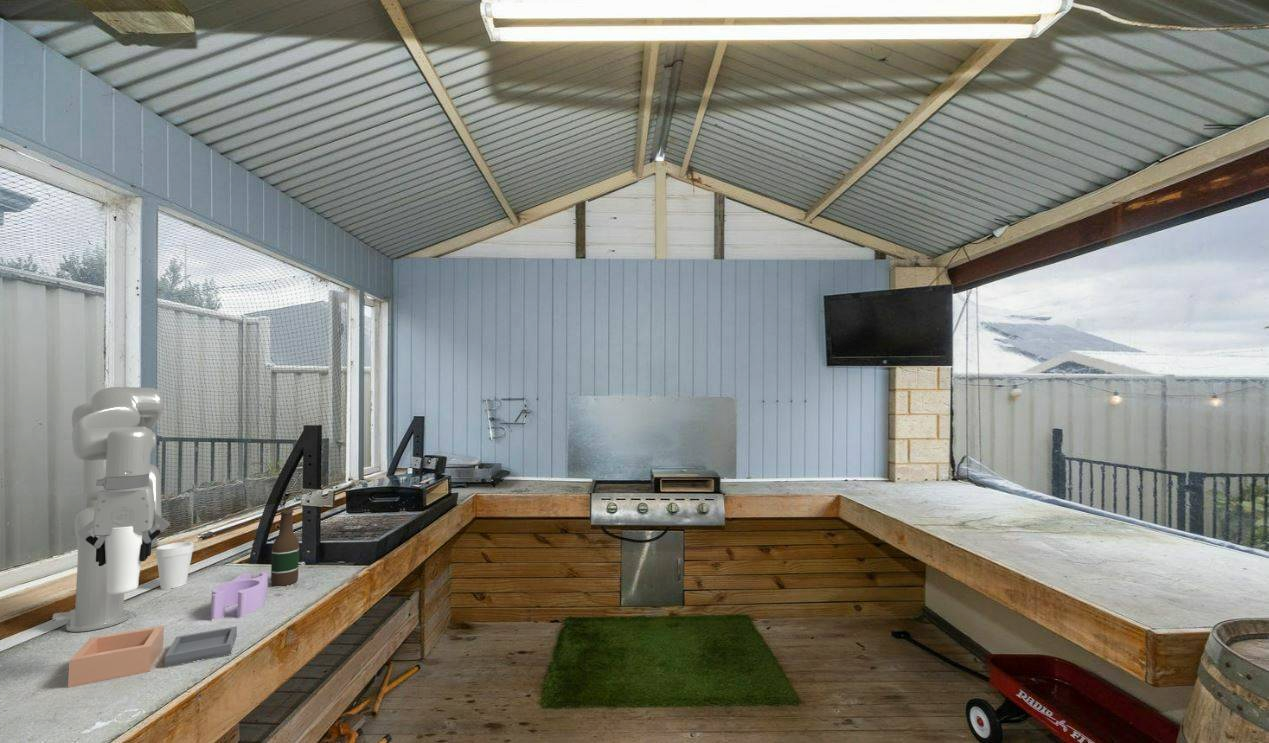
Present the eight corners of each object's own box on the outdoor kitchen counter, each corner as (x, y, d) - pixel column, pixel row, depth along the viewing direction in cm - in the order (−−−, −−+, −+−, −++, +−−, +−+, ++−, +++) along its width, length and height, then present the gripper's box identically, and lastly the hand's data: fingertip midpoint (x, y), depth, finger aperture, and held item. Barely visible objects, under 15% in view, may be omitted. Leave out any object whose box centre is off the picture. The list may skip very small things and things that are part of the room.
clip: (232, 597, 168) (233, 574, 168) (278, 593, 171) (279, 570, 172) (200, 622, 149) (201, 596, 149) (253, 617, 152) (253, 591, 152)
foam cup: (196, 584, 179) (198, 544, 180) (161, 593, 171) (162, 551, 172) (185, 579, 184) (186, 540, 185) (149, 587, 176) (151, 546, 177)
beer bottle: (295, 578, 185) (297, 506, 187) (301, 583, 180) (303, 509, 181) (268, 583, 180) (270, 509, 181) (273, 589, 174) (275, 513, 176)
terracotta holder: (68, 687, 114) (69, 660, 115) (89, 662, 126) (90, 637, 126) (149, 671, 121) (150, 646, 121) (162, 648, 132) (163, 625, 133)
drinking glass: (104, 598, 120) (109, 529, 120) (98, 592, 124) (102, 525, 125) (145, 590, 125) (149, 524, 126) (138, 584, 129) (141, 520, 130)
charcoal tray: (164, 667, 123) (165, 656, 123) (175, 647, 133) (176, 636, 133) (230, 654, 129) (231, 644, 129) (236, 636, 139) (236, 626, 139)
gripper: (69, 488, 118) (64, 572, 117) (172, 482, 127) (169, 560, 126) (81, 483, 124) (77, 563, 124) (179, 478, 133) (175, 552, 132)
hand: (123, 561), depth 125 cm, fingers closed on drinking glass, 6 cm apart
